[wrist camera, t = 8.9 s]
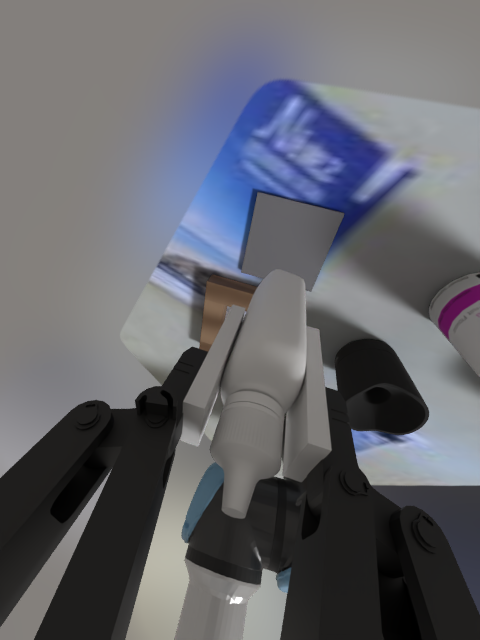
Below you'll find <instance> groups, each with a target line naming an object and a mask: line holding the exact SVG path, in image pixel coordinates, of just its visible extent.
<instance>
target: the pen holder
mask: <svg viewBox="0 0 480 640" xmlns="http://www.w3.org/2000/svg"><path fill="white" fill-rule="evenodd" d="M335 368H336V379H337V388H338V391H340V393H341V395H342V396H343V398H344V400H345V402H346V405H347V411H348V416H349V421H350V424H349V425H350V427H351V429H353V430H356V431H380V432H385V433H389V434H395V435H405V434H409V433H412V432H414V431H416V430H418V429H420V428H421V427H422V426H423V425H424V424H425V423H426V422H427V420H428V417H429V410H428V407H427V405H426V404H425V402H424V400H423V398H422V397H421V395H420V393H419V392H418V390H417V388H416V386H415V385H414V383H413V381H412V380H411V378H410V376H409V374H408V373H407V371H406V369H405V367H404V366H403V364H402V362H401V361H400V359H399V357H398V356H397V354H396V353H395V351H394V350H393V349H392V348H391V347H390V346H389V345H387V344H385V343H383V342H381V341H377V340H369V339H365V340H358V341H354V342H351V343H349V344H347V345H346V346H344V347H343V348H342V349H341V350H340V351H339V352H338V353H337V355H336V358H335Z"/></svg>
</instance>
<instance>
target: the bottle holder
mask: <svg viewBox="0 0 480 640" xmlns="http://www.w3.org/2000/svg"><path fill="white" fill-rule="evenodd" d="M256 289H257V287H256V286H252V285H249V284H245V283H242V282H238V281H235V280H231V279H227V278H224V277H220V276H217V275H212V276H211V277H210V278H209V279H208V281H207V285H206V294H205V303H204V312H203V321H202V330H201V338H200V347H199V349H202V350H205V351H208V352H209V350H210V348H211V346H212V344H213V342H214V340H215V338H216V336H217V334H218V332H219V330H220V328H221V326H222V324H223V323H224V320H225V315H226V309H227V306H230V307H232V305H237V306H240V307H243V308H245V311H247V310H248V307H249V304H250V302H251V299H252V297H253V295H254V293H255V291H256Z"/></svg>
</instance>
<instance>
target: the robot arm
mask: <svg viewBox="0 0 480 640" xmlns="http://www.w3.org/2000/svg"><path fill="white" fill-rule="evenodd" d="M244 312H245V308H243V307H240V306H237V305H232V307H231V309H230V311H229V313H228V315H227V317H226V319H225V321H224V323H223V324H222V326H221V328H220V330H219V332H218V334H217V336H216V338H215V340H214V342H213V344H212V346H211V348H210V350H209V352H208V351H205V350H202V349H198V348H195V347H191V348H189V349H188V350H186V351H185V352H184V353H183V354H182V356H181V357H180V359H179V360H178V363H176V365H175V366H174V369H173V370H172V371H171V373H170V374H169V376H168V377H167V379H166V380H165V382H164V384H163V385H162V386H155V387H152V388H148V389H146V390H145V391H143V392H142V393H140V395H139V396H138V397H137V399H136V400H135V403H136V408H133V409H110V406H109V405H108V404H106V403H105V402H103V401H98V400H94V401H87V402H85V403H83V404H80V405H78V406H77V407H75V408H74V409H72V410H71V411H70V412H69V413H68V414H67V415H66V416H65V417H64V418H63V419H62V420H61V421H60V422H58V424H56V425H55V426H54V427H53V428H52V429H51V430H50V431H49V432H48V433H47V434H46V435H45V436H44V437H43V438H42V439H41V440H40V441H39V442H38V443H37V444H35V445H34V446H33V447H32V448H31V449H30V450H29V451H28V452H27V453H26V454H25V455H24V456H23V457H22V458H21V459H20V460H19V461H18V462H17V463H16V464H15V465H14V466H12V468H10V469H9V470H8V471H7V472H6V473H5V474H4V475H3V476H2V477H1V478H0V627H1V625H2V624H3V623H4V621H5V620H6V618H7V617H8V616H9V614H10V613H11V611H12V610H13V608H14V607H15V606H16V604H17V603H18V601H19V600H20V598H21V597H22V595H23V594H24V593H25V591H26V590H27V589H28V587H29V586H30V584H31V583H32V581H33V580H34V579H35V577H36V576H37V574H38V573H39V571H40V570H41V569H42V567H43V565H44V564H45V563H46V561H47V560H48V559H49V557H50V556H51V554H52V553H53V552H54V550H55V549H56V547H57V546H58V544H59V543H60V541H61V540H62V539H63V537H64V536H65V534H66V533H67V532H68V530H69V529H70V527H71V526H72V524H73V523H74V522H75V520H76V519H77V517H78V516H79V515H80V513H81V512H82V510H83V509H84V507H85V506H86V505H87V503H88V501H89V500H90V499H91V497H92V496H93V495H94V493H95V492H96V490H97V489H98V487H99V486H100V485H101V483H102V482H103V480H104V479H105V477H106V476H107V475H108V473H109V472H110V470H111V469H112V470H111V473H110V475H109V477H108V479H107V481H106V484H105V486H104V488H103V490H102V493H101V494H100V497H99V499H98V501H97V503H96V506H95V508H94V510H93V512H92V514H91V516H90V519H89V521H88V523H87V525H86V527H85V529H84V532H83V534H82V536H81V538H80V540H79V543H78V545H77V547H76V549H75V551H74V553H73V556H72V558H71V560H70V562H69V564H68V567H67V569H66V571H65V573H64V575H63V577H62V580H61V582H60V584H59V586H58V588H57V590H56V593H55V595H54V597H53V599H52V601H51V604H50V606H49V608H48V610H47V612H46V615H45V617H44V619H43V621H42V623H41V625H40V628H39V630H38V632H37V634H36V636H35V638H34V640H125V638H126V634H127V630H128V627H129V623H130V619H131V615H132V612H133V608H134V605H135V601H136V597H137V593H138V590H139V585H140V582H141V579H142V575H143V571H144V567H145V564H146V560H147V556H148V553H149V549H150V545H151V542H152V538H153V534H154V530H155V526H156V523H157V519H158V516H159V512H160V508H161V504H162V500H163V497H164V493H165V490H166V486H167V482H168V478H169V475H170V471H171V467H172V464H173V460H174V456H175V448H176V446H177V444H178V441H179V439H180V437H181V441H183V442H186V443H189V444H191V445H195V446H197V447H198V446H199V444H200V441H201V438H202V435H203V433H204V430H205V428H206V425H207V422H208V420H209V417H210V414H211V412H212V409H213V406H214V404H215V401H216V398H217V395H218V393H219V390H220V387H221V381H222V376H223V373H224V369H225V367H226V364H227V361H228V359H229V356H230V353H231V351H232V348H233V346H234V343H235V340H236V338H237V335H238V333H239V330H240V328H241V325H242V321H243V316H244ZM306 337H307V349H306V368H305V375H304V379H303V383H302V386H301V389H300V392H299V394H298V396H297V398H296V400H295V402H294V403H293V405H292V406H291V408H290V409H289V410H288V411H287V414H286V420H285V421H284V427H283V441H282V455H281V457H282V461H283V475H282V476H284V479H281V478H277V477H274V476H273V477H271V478H267V479H260V480H259V481H258V482H257V484H256V486H255V489H254V492H253V495H252V498H251V501H250V504H249V507H248V510H247V513H246V516H245V518H243V519H239V518H234V517H231V516H229V515H227V514H225V513H224V512H223V511H222V499H223V488H224V470H223V468H222V467H220V466H219V465H218V464H217V463H216V462H215V463H213V464H212V465H210V467H209V468H208V469H207V470H206V472H205V474H204V475H203V477H202V479H201V481H200V483H199V485H198V487H197V490H196V492H195V494H194V497H193V499H192V501H191V504H190V507H189V509H188V512H187V515H186V520H185V523H184V525H183V529H182V539H183V540H184V541H185V543H189V545H188V549H187V553H186V556H185V563H186V566H187V569H188V573H189V579H190V581H189V584H188V588H187V593H186V596H185V600H184V604H183V608H182V612H181V615H180V620H179V623H178V627H177V631H176V635H175V639H174V640H242V638H243V630H244V623H245V616H246V608H247V602H248V600H249V598H250V597H251V596H252V595H253V594H254V593H255V592H256V591H257V590H258V589H259V588H260V585H261V576H262V570H263V568H264V569H268V570H271V571H274V572H276V573H277V575H276V580H277V585H278V588H279V589H280V590H281V591H283V592H287V593H288V594H287V599H286V606H285V612H284V619H283V625H282V632H281V638H280V640H480V615H479V612H478V610H477V608H476V605H475V603H474V601H473V598H472V597H471V594H470V592H469V589H468V587H467V585H466V582H465V580H464V578H463V575H462V573H461V571H460V568H459V566H458V564H457V561H456V559H455V557H454V554H453V552H452V550H451V547H450V545H449V543H448V541H447V539H446V537H445V535H444V534H443V532H442V530H441V528H440V527H439V526H438V525H437V523H436V522H435V521H434V520H433V519H432V518H431V517H430V516H429V515H428V514H427V513H425V512H424V511H423V510H421V509H419V508H417V507H415V506H405V507H403V508H400V507H399V506H397V505H396V504H394V503H393V502H392V501H390V500H389V499H387V498H386V497H384V496H383V495H381V494H380V493H379V492H377V491H376V490H375V489H373V488H372V486H371V485H370V483H369V481H368V479H367V478H366V476H365V475H364V473H363V472H362V471H361V470H360V469H359V467H358V463H357V459H356V454H355V448H354V443H353V438H352V432H351V427H350V425H349V424H350V421H349V416H348V411H347V405H346V402H345V400H344V398H343V396H342V395H341V393H340V391H336V390H333V389H330V388H327V387H325V381H324V372H323V362H322V352H321V343H320V333H319V329H316V328H313V327H309V326H306Z"/></svg>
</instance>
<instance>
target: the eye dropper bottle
mask: <svg viewBox="0 0 480 640" xmlns="http://www.w3.org/2000/svg"><path fill="white" fill-rule="evenodd" d="M306 349H307V337H306V292H305V282H304V279H302V278H301V277H299V276H297V275H294V274H292V273H289V272H286V271H283V270H279V269H276V270H273V271H272V272H270V273H269V274H268V275H267V276H266V277H265V278H264V279H263V281H262V282H261V283H260V284H259V286H258V287H257V289H256V291H255V293H254V295H253V297H252V299H251V302H250V304H249V307H248V310H247V312H246V315H245V317H244V320H243V322H242V325H241V328H240V330H239V333H238V335H237V338H236V340H235V343H234V346H233V348H232V351H231V353H230V356H229V359H228V361H227V364H226V367H225V369H224V373H223V376H222V381H221V399H222V403H223V406H224V407H223V410H222V413H221V416H220V419H219V422H218V425H217V428H216V431H215V434H214V437H213V440H212V444H211V446H210V453H211V456H212V458H213V459H214V461H215V462H216V463H217V464H218V465H219V466H220V467H222V468H223V470H224V488H223V499H222V511H223V512H224V513H225V514H227V515H229V516H231V517H234V518H239V519H243V518H245V516H246V513H247V510H248V507H249V504H250V501H251V498H252V495H253V492H254V489H255V486H256V484H257V482H258V481H259V480H260V479H267V478H271V477H273V476H274V475H276V474H277V473H278V472H279V470H280V467H281V455H282V441H283V427H284V414H285V413H286V412H287V411H288V410H289V409H290V408H291V406H292V405H293V403H294V402H295V400H296V398H297V396H298V394H299V392H300V389H301V386H302V383H303V379H304V375H305V368H306Z"/></svg>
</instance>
